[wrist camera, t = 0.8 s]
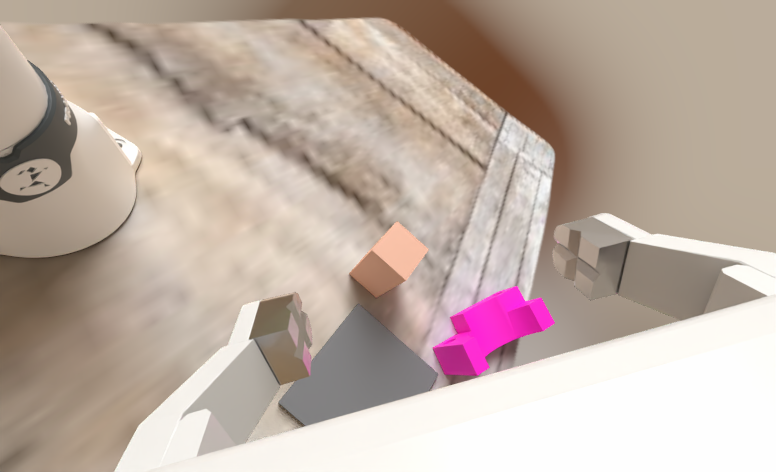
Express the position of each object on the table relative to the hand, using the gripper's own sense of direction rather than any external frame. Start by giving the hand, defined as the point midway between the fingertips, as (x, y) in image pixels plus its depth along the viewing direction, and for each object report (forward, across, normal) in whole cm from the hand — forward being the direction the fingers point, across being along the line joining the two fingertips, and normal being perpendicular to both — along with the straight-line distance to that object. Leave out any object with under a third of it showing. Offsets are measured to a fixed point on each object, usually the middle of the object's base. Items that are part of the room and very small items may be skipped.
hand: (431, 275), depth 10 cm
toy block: (+25, -10, +31) cm, 41 cm away
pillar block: (+29, +2, +19) cm, 35 cm away
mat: (+18, +6, +28) cm, 33 cm away
